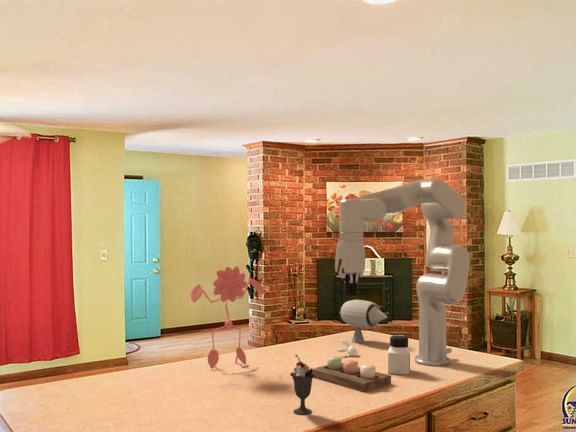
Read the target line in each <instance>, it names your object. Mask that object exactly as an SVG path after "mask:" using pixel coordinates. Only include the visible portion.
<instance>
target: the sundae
mask: <svg viewBox="0 0 576 432" xmlns="http://www.w3.org/2000/svg"><path fill="white" fill-rule="evenodd" d="M294 356H295V357H296V358H297V360H298V362H297V363H296V367H294V369H293V372H290V377H292V381H293V388H294V393H295V395H296V397H298V398H299V399H300V405H299V407H298V408H295V409H294V410H293V413H294V414H295V415H297V416H299V415H300V416H307V415H311V414H312V413H313V411H312V410H311V409H310V408H308V407H306V402H305V401H306V399H307V398H308V397H309V396H310V394H311V392H312V386H313V385H312V384H313V383H312V382H313V379H314V376H315V373H312V369H313V368H312V367H311V368H310V366H309V365H307V364H306V363H304V362H303V361H301V359H300V357H299V356H298V354H295V355H294Z"/></svg>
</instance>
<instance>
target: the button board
mask: <svg viewBox="0 0 576 432" xmlns="http://www.w3.org/2000/svg"><path fill="white" fill-rule="evenodd" d="M312 373H315V376H314V377H313V379H318V380H321V381H325V382H329V383H331V384H335V385H338V386H342V387H344V388H349V389H350V390H351V389H352V390H355V391H359V392H362V393H366V392H370V391H372V390H376V389H379V388H383V387H386V386H390V385H391V384H392V374H388V373H383V372H380V371H375V379H371V380H366V379H363V378H360V367H359V366H358V374H355V375H348V374H344V373H343V362H342V369H341V370H337V371H333V370H330V369H327V364H326V365H322V366H318V367H314V368H312Z"/></svg>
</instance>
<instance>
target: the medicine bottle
mask: <svg viewBox="0 0 576 432" xmlns="http://www.w3.org/2000/svg"><path fill="white" fill-rule="evenodd" d="M387 350H388V351H387V375H406V376H407V375H408V376H409V375H410V373H411V351H410V350H411V349H410V348H409V337H408V336H406V335H401V334H395V335H391V336H390V337H389V348H388V349H387Z"/></svg>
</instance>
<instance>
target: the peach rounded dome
mask: <svg viewBox="0 0 576 432" xmlns="http://www.w3.org/2000/svg"><path fill="white" fill-rule="evenodd" d="M342 363H343V373H344V374H348V375H355V374H358V367H359V362H358V361H357V360H353V359H352V360H351V359H350V360H349V359H348V360H344V361H343V362H342Z"/></svg>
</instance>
